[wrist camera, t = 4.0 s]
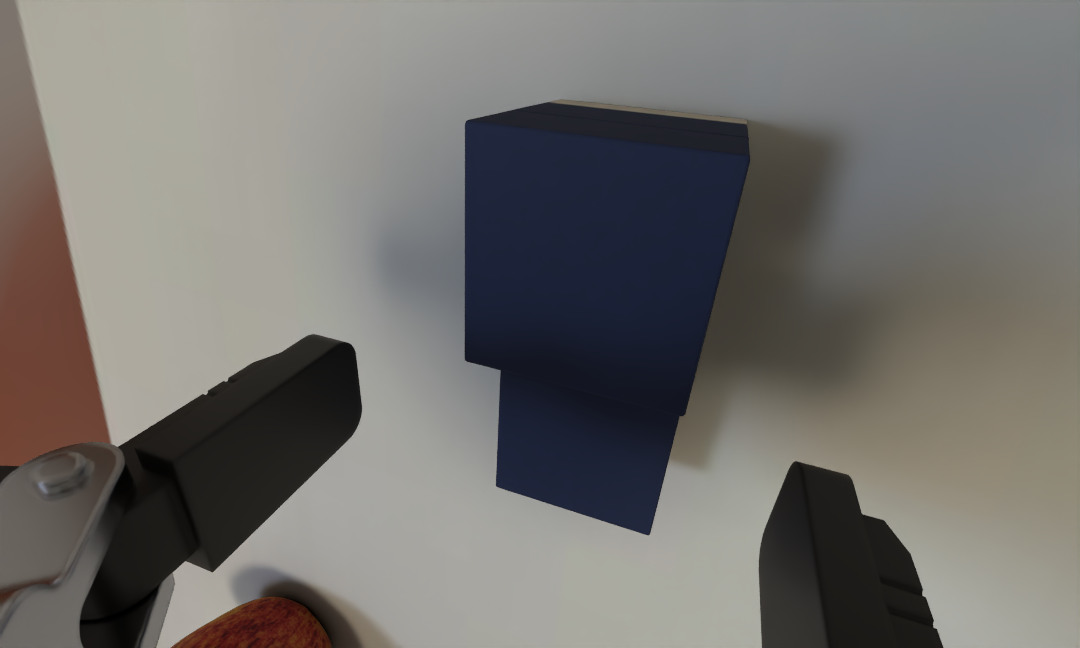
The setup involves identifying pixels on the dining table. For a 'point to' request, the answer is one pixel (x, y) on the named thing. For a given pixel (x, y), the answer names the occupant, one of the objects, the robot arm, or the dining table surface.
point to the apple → (261, 627)
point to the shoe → (595, 289)
